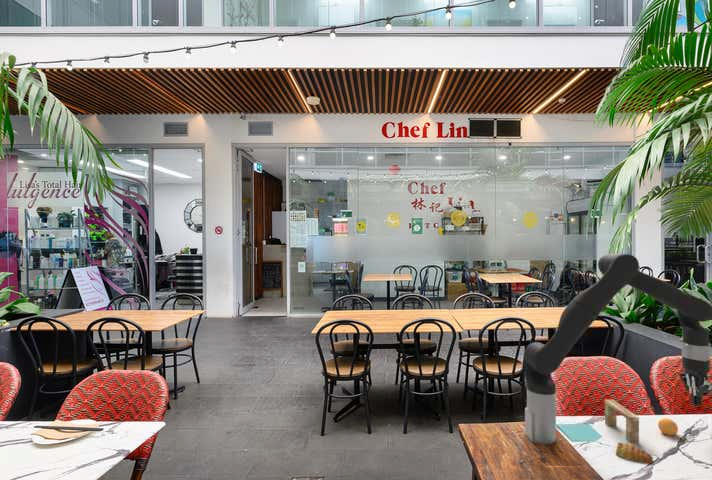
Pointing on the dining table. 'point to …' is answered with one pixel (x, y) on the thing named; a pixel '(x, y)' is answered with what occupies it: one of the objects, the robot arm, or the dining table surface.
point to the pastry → (633, 453)
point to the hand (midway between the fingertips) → (696, 405)
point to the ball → (668, 426)
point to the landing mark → (579, 432)
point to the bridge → (631, 418)
